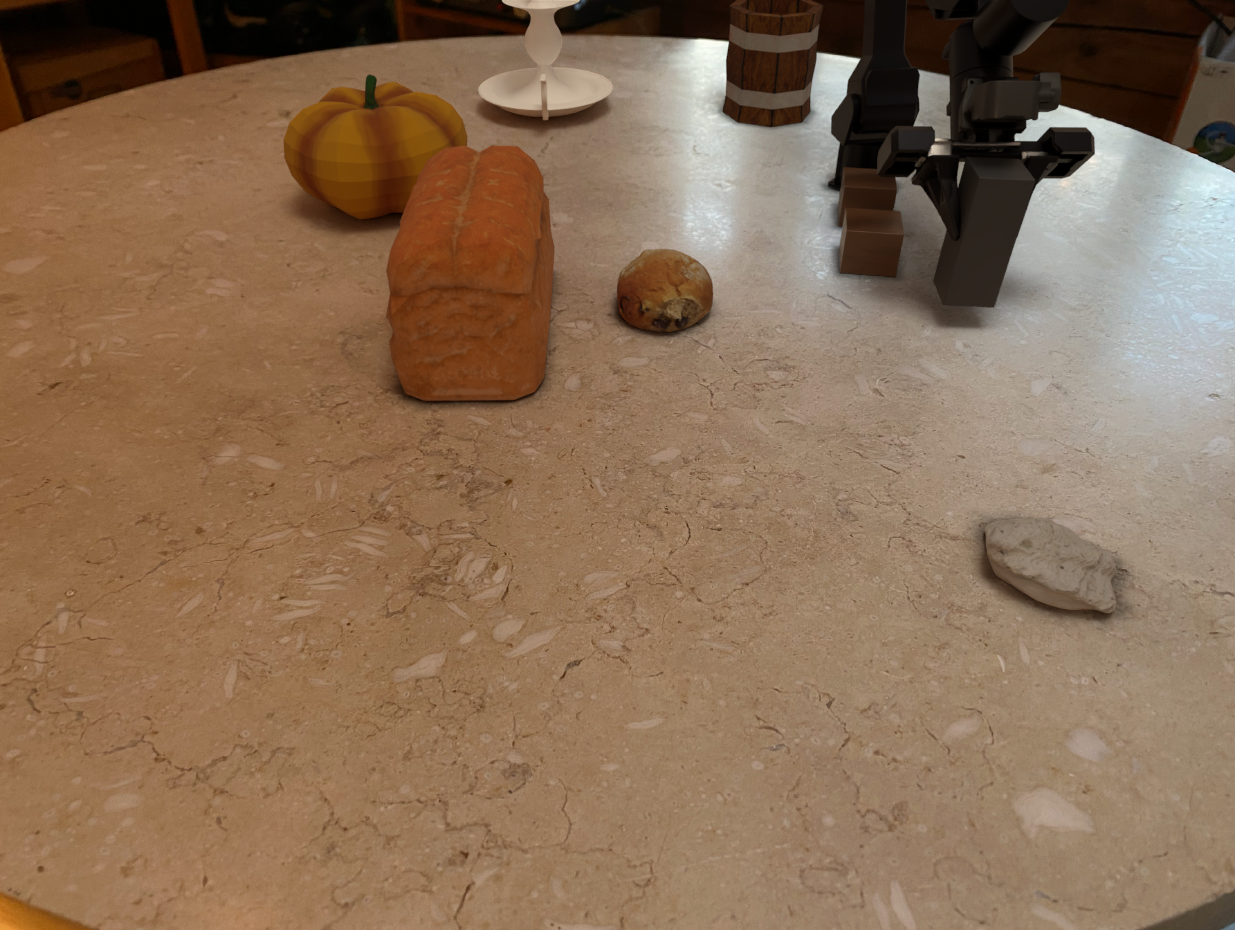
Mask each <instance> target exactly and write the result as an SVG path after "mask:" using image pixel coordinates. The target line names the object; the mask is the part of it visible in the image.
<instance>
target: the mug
mask: <svg viewBox="0 0 1235 930" xmlns="http://www.w3.org/2000/svg"><path fill="white" fill-rule="evenodd" d="M728 7H729V35H728V45H727V52H726V57H725V75H726V76H725V77H726V79H725V80H726V81H725V96H724V101H723V106H722V113H723V114H725V115H726V116H728V117H729V118H731V119H732V120H734V121H735V122H737V123H739V124H740V123H741V124H746V125H747V124H748V125H754V126H762V127H767V128H773V127H780V126H788V125H794V124H801V123H803V122H804V120H805V119H806V118H807V117H808V116H809V114H810V113H811V107H812V106H811V105H812V104H811V102H812V101H811V99H812V98H811V96H812V87H813V79H814V75H815V69H816V66H817V65H816V64H817V58H818V57H817V55H818V37H819V29H820V22H821V17H822V14H823V10H824V5H823V4H821V3H819V2H816V1H813V0H735V1H733V2H732V3H731V4H730V5H728Z"/></svg>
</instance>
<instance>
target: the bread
mask: <svg viewBox="0 0 1235 930" xmlns="http://www.w3.org/2000/svg"><path fill="white" fill-rule="evenodd" d="M544 181H545V179H544V176H543V174H542V171H541V170H540V168H539V166H538V163H537V162H536V160H535V159H534V158H533V157H531V156H530V155H529V154H528V153H527V152H526V151H524V150H523V149H521V148H520V147H519V146H518V145H490V146H488V147H486V148H485V149H482V150H481V151H478V150H476V149H473V148H471V147H470V146H468V145H467V146H458V147H449V148H445V149H443V150H442V151H440V152H439V153H437V154H436V155H434V156H433V157H431V158H430V159H428V161H427V162H426V164H425V166H424V167H423V169H422V171H421V172H420V174H419V176H418V179H417V183H416V185H414V187H413V190H412V192H411V195H410V198H409V200H408V202H407V205H406V207H405V210H404V213H402V215H401V218H400V221H399V229H398V231H397V233H396V236H395V238H394V240H393V243H392V245H391V247H390V249H389V250H390V251H389V255H388V260H387V265H386V270H385V271H386V278H387V283H388V288H389V295H388V303H387V309H386V313H385V317H386V319H387V321H388V323H389V325H390V327H391V329H392V330H393V331H392V333H391V336H390V339H389V350H390V352H389V353H390V357H391V361H392V363H393V366H394V369H395V372H396V374H397V377H398V379H399V382H400V384H401V387H402V389H403V391H404V393H405V394H406V395H408V396H411V397H413V398H416V399H418V400H421V401H515V400H517V399H521V398H522V397H525V396H528V395H529V394H532V393H535V392H536V391H537V389H538V388H539V387H540V385H541V383H542V381H543V380H544V378H545V376H546V364H547V363H546V362H547V351H548V341H549V330H550V322H551V314H552V313H551V311H552V298H553V294H552V293H553V283H554V282H553V280H554V268H555V267H554V266H555V265H554V264H555V248H556V247H555V243H554V238H553V234H552V225H551V212H550V211H551V209H550V198H549V197H548V196H547V194H546V192H545V189H544V188H545V185H544V183H545V182H544Z"/></svg>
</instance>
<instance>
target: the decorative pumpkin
mask: <svg viewBox="0 0 1235 930" xmlns="http://www.w3.org/2000/svg"><path fill="white" fill-rule="evenodd" d="M377 83H378V79H377V76H375V75H374V74H373V75H372V74H367V75H366V77H365V84H364V87H365V88H364V90H362V89H358V88H354V87H347V86H338V87H331V88H330V89H329V90H328V92H326V94H324V95H323V96H322V98H321V99H319V101H318V102H316V103H314V104H311V105H309V106H307V107H304V108H302V109H301V110H300V111H299V112H298V113H297V114H296V115H295V116H294V117H293V118H292V119H291V120H290V122H289V123H288V126H287V129H286V131H285V134H284V137H283V157H284V160H285V163H286V166H287V168H288V170H289V173H290V175H291V177H292V178H293V179H294V180H295V182H296V183H297V184H298V185H299V186H300V188H302V190H303V191H304V192H305V193H307V194H308V195H310V196H312V197H313V198H314V199H317V200H318V201H320V202H322V203H324V204H325V205H327V206H330V207H336V208H337V209H339V210H340V211H342V212H344V213H345V214H347V215H349V216H351V217H353V218H356V219H358V220H369V219H370V220H371V219H376V218H380V217H381V218H382V217H383V216H386V215H389V214H392V213H393V214H403V213H404V210H405V207H406V205H407V202H408V200H409V198H410V195H411V192H412V190H413V187H414V185H416V183H417V179H418V176H419V174H420V172H421V171H422V169H423V167H424V166H425V164H426V162H427V161H428V159H430V158H431V157H433V156H434V155H436V154H437V153H439V152H440V151H442V150H443V149H445V148H449V147H458V146H467V147H468V134H467V130H466V126H465V124H464V123H465V122H464V119H463V118H462V117H461V115H460V113H459V112H458V111H457V109H456V108H455V107H454V106H453V105H452V104H451V103H450V102H448V101H446V100H445V99H443V98H442V97H441V96H438V95H437V94H433V93H427V92H421V91H413V90H412V89H410V88H408V87H407V86H405V85H404V84H401V83H399V82H397V81H387V82H384V83H382V84H379V85H377Z"/></svg>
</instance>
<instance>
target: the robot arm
mask: <svg viewBox="0 0 1235 930" xmlns="http://www.w3.org/2000/svg"><path fill="white" fill-rule="evenodd" d="M925 3H926V6H927V7H928V9H929V12H930V14H931V16H932V17H933V19H934V20H939V21H957V20H958V21H959V20H960V21H961V20H965V21H964V22H962V23H961V24H959V26H957V28H955V30H954V31H953V32H952V33H951V35H950V36H949V37H948V42H947V43H946V44H945V46H944V47H943V50H942V53H941V59H942V60H947V61H948V71H949V73H948V74H949V76H948V77H949V79H948V80H949V102H948V103H947V104H946V106H945V107H946V109H945V110H946V111H945V112H946V114H945V115H946V117H949V127H950V131H949V132H950V133H949V134H950V138H947V137H946V138H945V137H943V138H942V137H936V131H935V129H934V127H933V126H932V125H915V124H916V121H917V118H918V115H919V113H920V110H921V109H920V97H919V84H920V78H921V74H920V72H919V68H918V67H917V66H912V65H911V62H910V61H909V59H908V56H907V55H906V53H905V52H906V51H905V50H906V49H905V46H906V29H907V11H908V10H907V9H908V0H864V10H863V11H864V12H863V35H862V52H861V57H860V59H859V61H858V63H857V64H856V66H855V67H854V69H853V71H852V73H851V74H850V76H849V77H848V80H847V85H846V94H845V97H844V98H843V99H842V101H841V102H840V103H839V105H838V106H837V108H836V109H835V110H834V111H833V113H832V114H831V117H830V118H831V119H830V135H832V137H834V138H835V139H836V141H837V142H838V143H839V144H838V145H839V146H838V152H837V159H836V165H835V166H836V167H835V172H834V178H832V179H830V180H829V181H828V182H827V187H829V188H833V189H836V190H839V191H840V189H841V182H842V176H843V169H844V167H849V168H866V169H877V175H879V176H880V177H896V178H909V177H910V176H911V175H912V174H913V173H914V172H915V173H914V174H913V176H912V177H911V178H910V181H911V182H910V183H911V185H913V186H920V187H921V189H922V190H923V192H924V193H925V194H926V196H927V197H928V199H929V200H930V202H931V204H932V205H933V206H934V208H935V210H936V211H937V213H938V215H939V217H940V219H941V221H942V223H943V225H944V227H945V229H946V230H947V231H948V233H949V235H950V237H951V239H952V240H953V241H957V240H958V239H959V238H960V229H961V217H960V206H959V195H958V186H959V183H958V173H959V167H960V163H965V160H966V157H985V158H1006V159H1020V160H1021V162H1022V163H1023V164H1024V166H1025V167H1026V168H1027V170H1028V171H1029V172H1030V174H1031V175H1032V176H1033V178H1034V179H1035V183H1034V186H1033V189H1032V192H1031V196H1030V199H1029V202H1028V205H1027V208H1026V211H1025V214H1024V217H1023V220H1022V223H1021V226H1020V230H1019V233H1018V236H1017V238H1018V237H1019V234H1020V231H1021V228H1022V225H1023V222H1024V219H1025V215H1026V213H1027V210H1028V208H1029V204H1030V202H1031V199H1032V196H1033V194H1034V191H1035V190H1036V187H1037V185H1038V184H1039V183H1041V181H1042V180H1044V179H1045V180H1046V179H1047V180H1049V179H1051V180H1053V179H1056V180H1059V179H1062V180H1063V179H1066V178H1071V176H1072V175H1074V173H1075V172H1076V171H1078V170H1079V169H1080V168H1082V166H1084V165H1085V164H1086V163H1087V162H1088V161H1089V160H1090V159H1091V158H1092V157H1093V156H1094V155H1096V146H1095V142H1096V141H1095V136H1094V135H1093V133H1092V131H1090V129H1089V128H1088V127H1084V126H1083V127H1082V126H1074V127H1072V126H1050V127H1048V129H1046V131H1045V132H1043V134H1042V135H1040V137H1039V138H1038V139H1037V140H1016V135H1017V134H1018V135H1021V134H1023V133H1024V132H1025V130H1026V129H1027V122H1028V121H1030V120H1032V121H1037V120H1038V119H1039V113H1051V112H1053V111H1056V110H1057V109H1058V108H1059V107H1060V105H1061V96H1062V80H1061V72H1054V71H1053V72H1050V71H1049V72H1047V71H1046V72H1042V71H1041V72H1039V73H1038V74H1034V75H1033V76H1032V79H1031V80H1019V76H1014V59H1013V58H1014V57H1013V56H1017V55H1020V54H1022V53H1023V52H1025V51H1026V50H1028V48H1030V46H1031V45H1033V43H1034V42H1035V41H1037V40H1038V38H1040V36H1041V35H1042V34H1043V33H1044V32H1045V31H1047V29H1048V28H1050V26H1052V25H1053V23H1054V22H1056V20H1058V18H1059V17H1061V16H1062V15H1063V14H1064V12H1065V11H1066V10H1067V8H1068V6H1069V3H1070V0H925Z"/></svg>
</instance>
